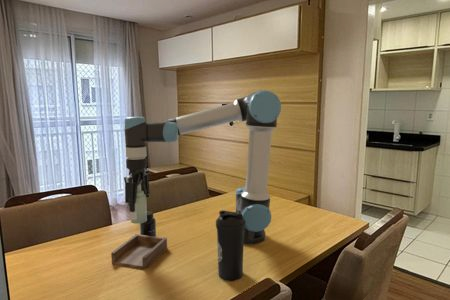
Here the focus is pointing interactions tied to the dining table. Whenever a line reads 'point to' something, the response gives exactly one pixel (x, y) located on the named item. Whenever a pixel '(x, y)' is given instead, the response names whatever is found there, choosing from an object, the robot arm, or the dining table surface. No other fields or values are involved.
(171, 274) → the dining table surface
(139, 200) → the bottle
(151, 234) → the supplement bottle
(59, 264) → the dining table surface
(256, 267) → the dining table surface
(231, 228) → the water bottle
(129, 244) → the u rest
